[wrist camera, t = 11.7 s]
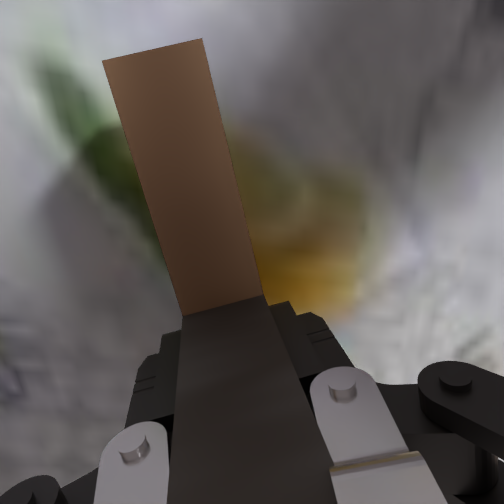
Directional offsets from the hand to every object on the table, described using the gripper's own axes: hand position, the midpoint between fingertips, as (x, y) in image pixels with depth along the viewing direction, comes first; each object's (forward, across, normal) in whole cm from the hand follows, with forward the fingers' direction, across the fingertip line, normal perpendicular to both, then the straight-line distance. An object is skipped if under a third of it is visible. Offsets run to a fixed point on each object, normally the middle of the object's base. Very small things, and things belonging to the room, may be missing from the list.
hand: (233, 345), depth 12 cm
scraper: (+3, 0, 0) cm, 3 cm away
